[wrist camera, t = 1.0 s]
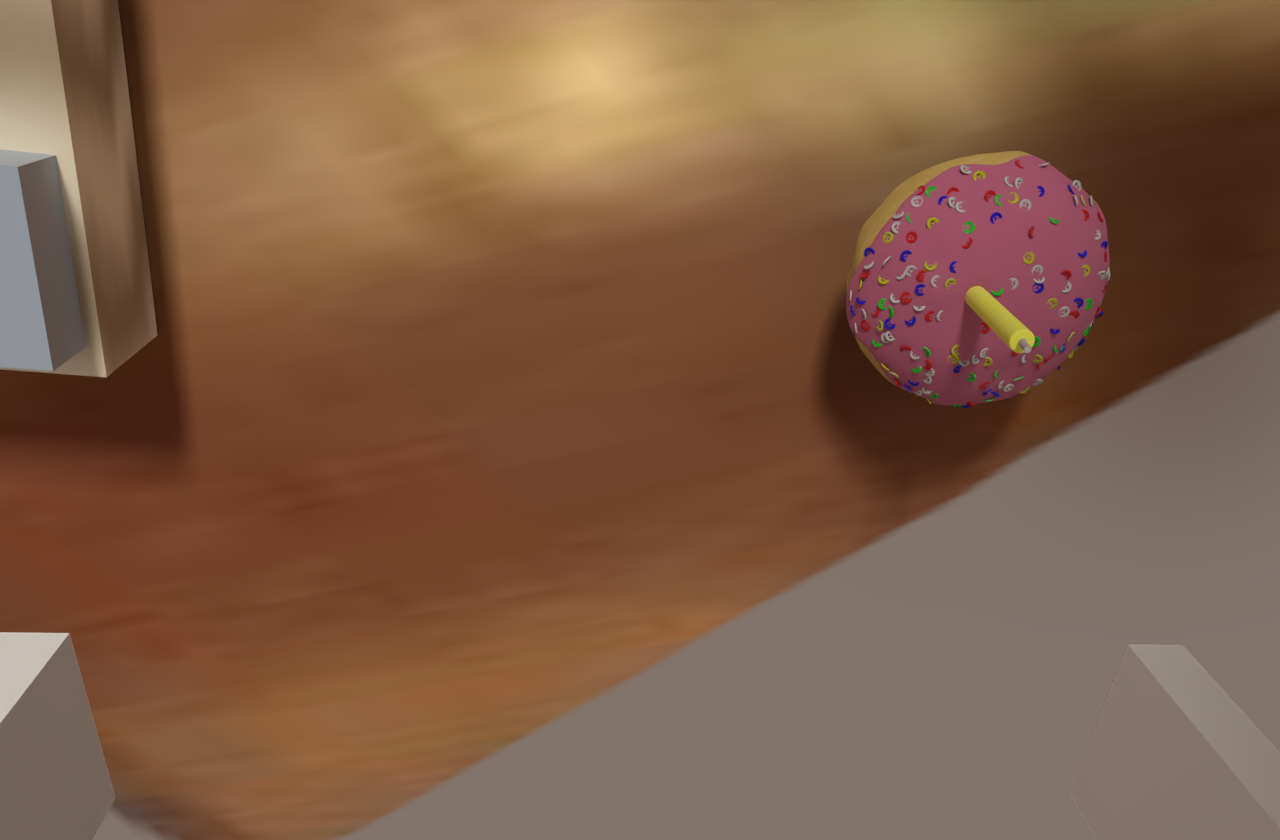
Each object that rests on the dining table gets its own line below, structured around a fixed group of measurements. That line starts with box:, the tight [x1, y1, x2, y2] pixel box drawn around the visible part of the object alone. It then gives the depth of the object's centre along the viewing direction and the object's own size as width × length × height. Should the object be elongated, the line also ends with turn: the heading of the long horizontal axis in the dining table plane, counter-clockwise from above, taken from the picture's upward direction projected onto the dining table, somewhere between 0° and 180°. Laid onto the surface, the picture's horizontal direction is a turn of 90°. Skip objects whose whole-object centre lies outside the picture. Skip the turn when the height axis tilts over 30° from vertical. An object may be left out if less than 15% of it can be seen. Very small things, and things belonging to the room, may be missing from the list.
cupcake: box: [846, 151, 1110, 408], centre depth 28 cm, size 9×8×12 cm
